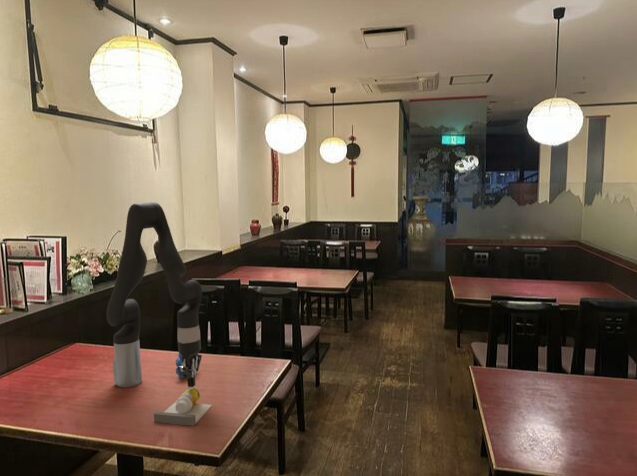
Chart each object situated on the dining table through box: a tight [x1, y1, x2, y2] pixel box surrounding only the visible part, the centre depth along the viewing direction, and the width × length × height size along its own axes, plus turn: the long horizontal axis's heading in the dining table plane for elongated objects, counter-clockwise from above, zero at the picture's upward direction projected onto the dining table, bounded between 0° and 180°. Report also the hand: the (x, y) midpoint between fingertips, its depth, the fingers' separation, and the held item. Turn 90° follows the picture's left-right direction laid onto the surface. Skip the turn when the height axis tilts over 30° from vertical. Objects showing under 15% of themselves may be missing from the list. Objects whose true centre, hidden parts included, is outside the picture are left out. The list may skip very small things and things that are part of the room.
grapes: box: [175, 352, 184, 379], centre depth 183 cm, size 12×7×12 cm, turn 164°
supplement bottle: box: [175, 386, 201, 414], centre depth 154 cm, size 6×6×10 cm
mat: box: [153, 401, 213, 427], centre depth 152 cm, size 14×13×3 cm
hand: (191, 386), depth 157 cm, fingers closed
